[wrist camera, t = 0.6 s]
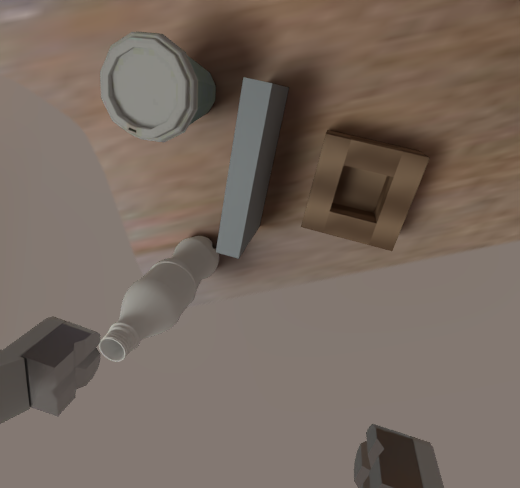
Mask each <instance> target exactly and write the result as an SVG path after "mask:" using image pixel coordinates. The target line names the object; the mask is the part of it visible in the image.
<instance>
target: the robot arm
mask: <svg viewBox="0 0 520 488" xmlns="http://www.w3.org/2000/svg"><path fill="white" fill-rule="evenodd" d="M99 343H100V334H99V333H97V332H95V331H93V330H90V329H87V328H84V327H82V326H79V325H76V324H73V323H71V322H67V321H65V320H62V319H59V318H56V317H49V318H46V319H45V320H43V321H42V322H41V323H39V324H38V325H37V326H35V327H34V328H32V329H31V330H30V331H28V332H27V333H26V334H24V335H23V336H21V337H20V338H19V339H17V340H16V341H15V342H13V343H12V344H10V345H9V346H8V347H6V348H5V349H4V350H0V424H1V423H3V422H5V421H7V420H9V419H10V418H13V417H15V416H16V415H19V414H20V413H23V412H24V411H26V410H28V409H30V407H32V408H35V409H38V410H41V411H44V412H46V413H49V414H53V415H55V416H59V415H60V414H61V412H62V411H63V410H64V409H65V408H66V407H67V406H68V405H69V404H70V402H71V401H72V400H73V399H74V398H75V392H76V389H78V388H81V387H83V386H86V385H87V384H88V382H89V381H90V380H91V379H92V378H93V376H94V374H95V372H96V371H97V369H98V366H99V362H100V353H99V351H98V350H97V348H96V347H97V345H98V344H99ZM366 435H367V441H365V442H363V443H361V444H360V446H359V449H358V451H357V454H356V459H355V466H354V481H355V483H356V485H357V486H358V488H444V486H443V482H442V479H441V475H440V472H439V468H438V464H437V461H436V457H435V453H434V449H433V447H432V445H431V444H430V442H427V441H424V440H420V439H418V438H415V437H411V436H408V435H405V434H403V433H400V432H396V431H393V430H390V429H387V428H384V427H381V426H378V425H375V424H372V425H371V426H370V427H369V429H368V430H367V432H366Z"/></svg>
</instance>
